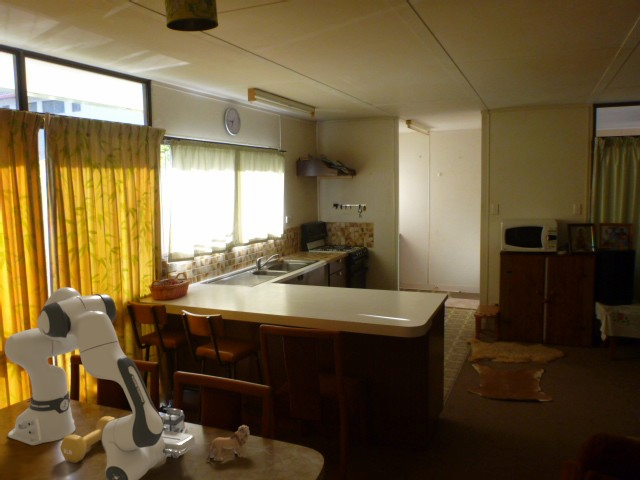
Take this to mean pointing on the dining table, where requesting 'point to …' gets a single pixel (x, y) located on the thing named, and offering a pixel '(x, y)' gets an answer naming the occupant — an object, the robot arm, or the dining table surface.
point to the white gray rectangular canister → (174, 423)
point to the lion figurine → (230, 442)
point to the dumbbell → (82, 442)
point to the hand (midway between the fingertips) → (176, 429)
